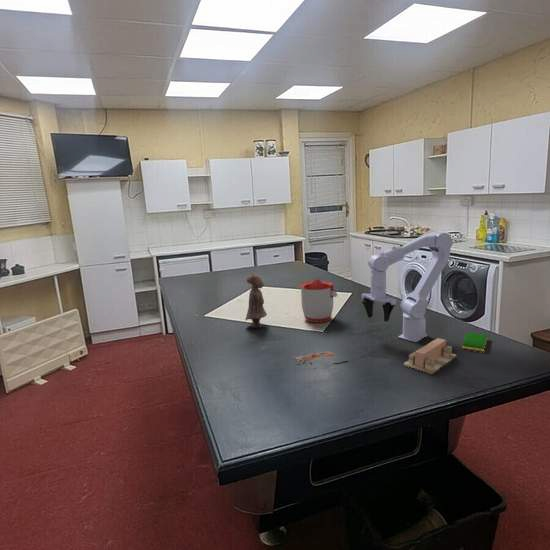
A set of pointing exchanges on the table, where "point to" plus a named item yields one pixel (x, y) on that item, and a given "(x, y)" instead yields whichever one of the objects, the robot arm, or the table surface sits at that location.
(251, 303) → the clay figurine
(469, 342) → the dish sponge
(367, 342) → the table surface
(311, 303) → the citrus juicer
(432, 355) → the clay strip
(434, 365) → the birch rack
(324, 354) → the bark
